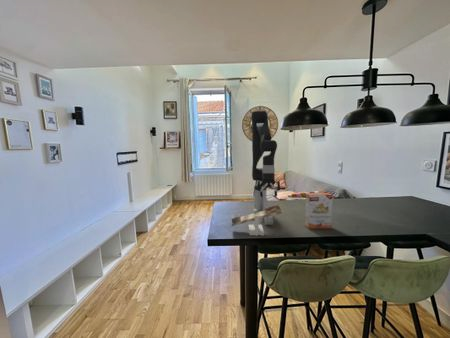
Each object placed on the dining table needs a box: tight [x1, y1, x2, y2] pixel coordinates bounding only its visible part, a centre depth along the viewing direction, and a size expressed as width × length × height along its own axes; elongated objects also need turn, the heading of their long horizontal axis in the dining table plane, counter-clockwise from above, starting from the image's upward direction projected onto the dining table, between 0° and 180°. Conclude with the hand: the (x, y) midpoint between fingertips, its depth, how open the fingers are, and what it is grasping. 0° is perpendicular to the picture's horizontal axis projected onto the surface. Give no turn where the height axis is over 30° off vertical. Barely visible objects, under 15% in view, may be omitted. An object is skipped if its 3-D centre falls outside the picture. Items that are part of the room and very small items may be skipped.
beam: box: [230, 204, 282, 227], centre depth 127 cm, size 29×9×4 cm, turn 86°
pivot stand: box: [248, 208, 265, 237], centre depth 127 cm, size 8×13×12 cm, turn 176°
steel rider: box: [263, 215, 274, 226], centre depth 140 cm, size 5×5×5 cm
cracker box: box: [304, 192, 334, 230], centre depth 130 cm, size 14×6×21 cm, turn 91°
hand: (268, 197), depth 138 cm, fingers open, 8 cm apart
